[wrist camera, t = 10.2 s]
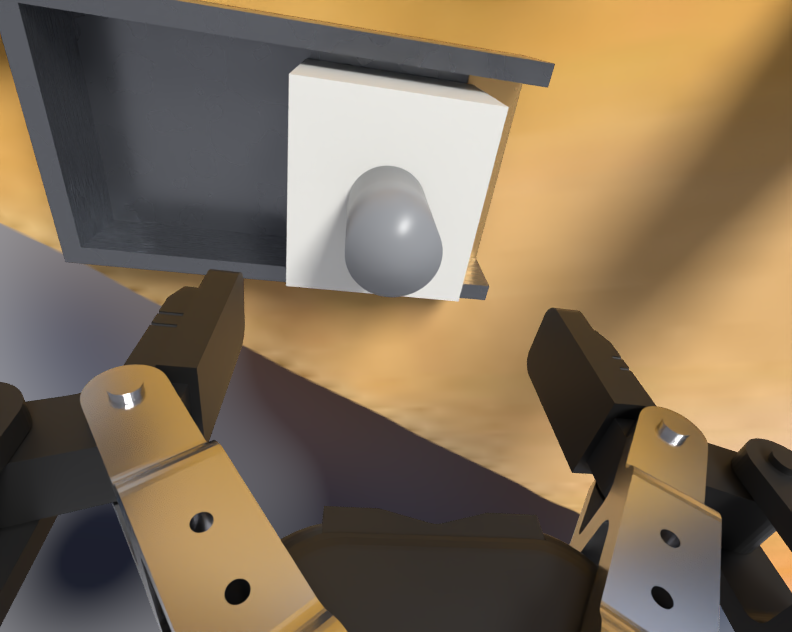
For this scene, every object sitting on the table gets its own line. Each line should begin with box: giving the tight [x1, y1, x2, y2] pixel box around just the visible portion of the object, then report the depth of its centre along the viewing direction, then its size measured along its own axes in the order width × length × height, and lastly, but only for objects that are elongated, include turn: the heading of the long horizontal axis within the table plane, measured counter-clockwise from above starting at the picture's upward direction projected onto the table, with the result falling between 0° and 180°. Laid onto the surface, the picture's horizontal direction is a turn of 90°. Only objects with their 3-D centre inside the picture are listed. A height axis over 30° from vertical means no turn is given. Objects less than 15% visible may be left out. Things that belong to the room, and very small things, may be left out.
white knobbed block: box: [286, 58, 509, 301], centre depth 22 cm, size 10×9×12 cm
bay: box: [0, 0, 555, 300], centre depth 25 cm, size 13×24×5 cm, turn 82°
